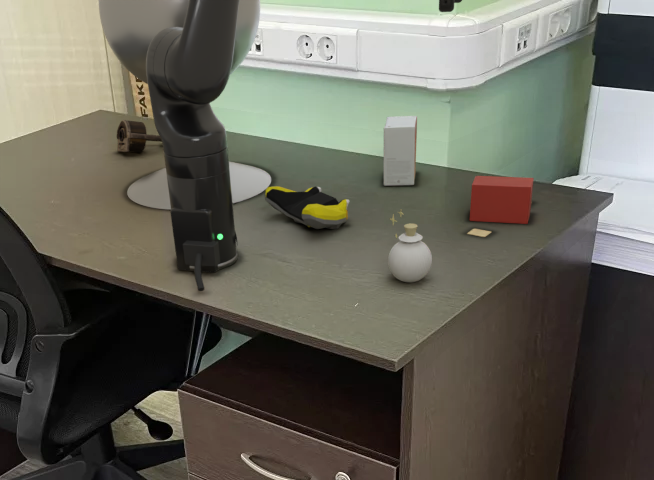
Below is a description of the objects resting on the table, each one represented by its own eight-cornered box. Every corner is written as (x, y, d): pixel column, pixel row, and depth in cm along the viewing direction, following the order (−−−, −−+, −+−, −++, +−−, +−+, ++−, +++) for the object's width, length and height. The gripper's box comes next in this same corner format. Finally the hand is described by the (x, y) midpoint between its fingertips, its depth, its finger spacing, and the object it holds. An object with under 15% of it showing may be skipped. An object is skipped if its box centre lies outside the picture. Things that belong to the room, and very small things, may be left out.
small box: (414, 186, 155) (415, 126, 149) (382, 186, 156) (383, 127, 151) (416, 172, 162) (417, 115, 156) (386, 172, 163) (386, 115, 157)
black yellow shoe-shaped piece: (310, 243, 136) (361, 227, 140) (308, 209, 133) (361, 194, 137) (261, 217, 147) (309, 204, 151) (258, 186, 144) (308, 173, 148)
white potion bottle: (408, 293, 118) (409, 223, 113) (372, 276, 123) (372, 209, 118) (440, 280, 121) (443, 212, 115) (404, 265, 126) (405, 198, 121)
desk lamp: (223, 154, 181) (200, -92, 157) (300, 184, 161) (287, -93, 137) (103, 185, 169) (59, -77, 145) (170, 221, 149) (132, -76, 125)
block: (527, 224, 136) (531, 187, 133) (469, 221, 139) (471, 184, 136) (530, 214, 139) (533, 177, 136) (473, 211, 142) (475, 175, 139)
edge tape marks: (484, 237, 133) (484, 236, 133) (466, 233, 134) (466, 233, 134) (532, 202, 144) (532, 202, 144) (515, 200, 145) (515, 199, 145)
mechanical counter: (112, 122, 189) (108, 122, 180) (169, 110, 189) (168, 110, 180) (120, 155, 191) (116, 158, 182) (176, 144, 192) (175, 146, 182)
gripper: (438, -114, 133) (434, 0, 141) (421, -109, 122) (418, 15, 130) (488, -118, 130) (481, -1, 139) (475, -113, 119) (468, 14, 128)
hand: (450, 7), depth 135 cm, fingers open, 8 cm apart
